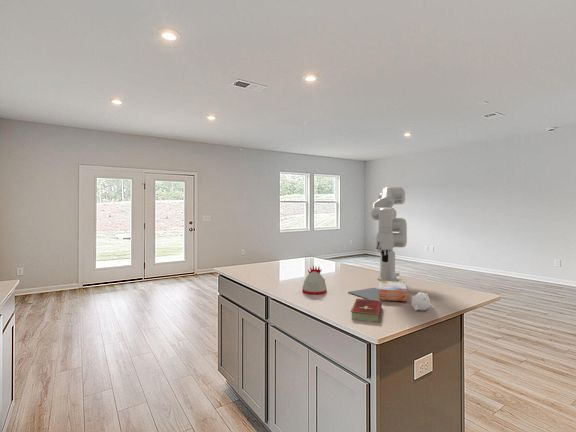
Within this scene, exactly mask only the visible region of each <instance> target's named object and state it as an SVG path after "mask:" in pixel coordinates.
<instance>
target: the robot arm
mask: <svg viewBox="0 0 576 432" xmlns="http://www.w3.org/2000/svg"><path fill="white" fill-rule="evenodd" d="M405 202H406V191H405V189H404V188H403V187H402V186H388V187H385V188H384V187H383V189H382V191H381V192H380V193H379V194H378V199H377V200H376V201H374V202H373V204H372V207H371V211H370V212H371V213H370V215H371V216H370V217H371V219H373V220H375V221H378V232H377V233H376V239H375V240H376V241H375V249H376V250H377V253H379V254H380V255H379V256H380V262H379V263H380V264H379V265H380V266H379V267H380V268H379V270H380V271H379V276H378V277H377V280H378V281H397V282H398V278H397V277H399V276H400V272H396V252H395V250H393V249H394V248H405V247H406V246H407V242H408V236H407V235H408V233H407V232H408V227H407V220H406V219H405V218H403V217H397V210H396V209H395V208H394V207H393V206H394V205H403V204H405Z"/></svg>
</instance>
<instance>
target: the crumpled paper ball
mask: <svg viewBox="0 0 576 432" xmlns="http://www.w3.org/2000/svg"><path fill="white" fill-rule="evenodd" d="M411 303H412V305H413V308H414V310H415V311H422V312H423V311H426V310H428V309H429V308H430V307H431V308H432V309H433V310H435V307H434V306H433V304H431V300H430V296H429V295H428V292H426V293H425V292H420V291H419V292H418V293H416V294H415V295H413V297H412V299H411Z"/></svg>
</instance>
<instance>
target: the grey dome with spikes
mask: <svg viewBox="0 0 576 432" xmlns="http://www.w3.org/2000/svg"><path fill="white" fill-rule="evenodd" d="M309 269H310V270H309ZM309 269H307V275H306V277H305V279H304V281H303V284H302V293H304V294H305V293H306V295H310V296H311V295H313V296H317V295H318V296H319V295H324V294H326V293H327V289H328V288H327V285H326V284H327V283H326V279H325V277H324V276H323V275H322V274H321V272H322V270H323V269H322V268H320V266H318V268H317V266H315V267H314V265H313V266H312V267H310V268H309Z"/></svg>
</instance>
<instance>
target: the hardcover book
mask: <svg viewBox="0 0 576 432" xmlns="http://www.w3.org/2000/svg"><path fill="white" fill-rule="evenodd" d="M382 303H383V302H381V301H380V300H369V299H364V298H355V301H354V303H353V305H352V308H351V310H350V313H351V320H355V319H357V320H358V321H364V320H367V321H366V322H373V321H377V322H376V323H380V317H381V312H382V305H383V304H382Z"/></svg>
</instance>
